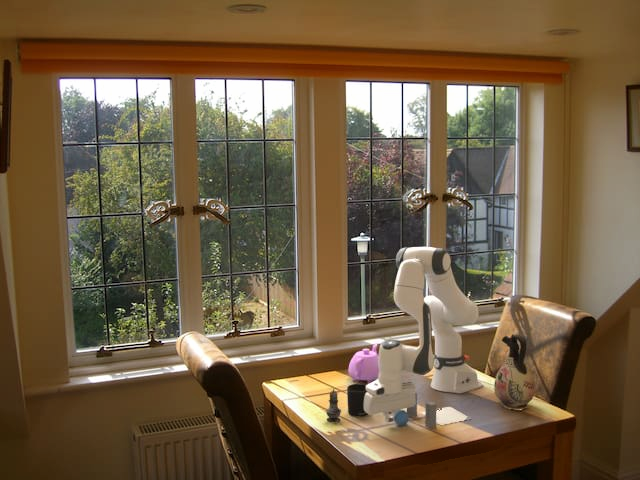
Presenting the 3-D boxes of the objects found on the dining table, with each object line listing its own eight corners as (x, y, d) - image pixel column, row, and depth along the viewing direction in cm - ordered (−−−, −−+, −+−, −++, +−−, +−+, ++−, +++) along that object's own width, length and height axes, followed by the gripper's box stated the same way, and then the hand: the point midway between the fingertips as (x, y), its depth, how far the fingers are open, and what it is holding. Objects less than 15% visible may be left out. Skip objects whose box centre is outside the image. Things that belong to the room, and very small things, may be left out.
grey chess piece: (325, 417, 263) (325, 386, 261) (340, 416, 263) (340, 386, 262) (326, 423, 257) (326, 391, 255) (342, 422, 257) (342, 391, 256)
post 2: (431, 425, 255) (432, 401, 253) (436, 427, 252) (436, 403, 251) (425, 426, 253) (425, 402, 252) (429, 429, 251) (429, 405, 250)
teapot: (361, 369, 320) (361, 340, 318) (392, 374, 313) (392, 344, 311) (340, 383, 300) (340, 352, 299) (373, 389, 293) (373, 357, 291)
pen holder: (343, 415, 264) (343, 390, 263) (352, 407, 273) (352, 382, 272) (366, 419, 261) (366, 393, 259) (374, 410, 269) (375, 385, 268)
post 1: (412, 413, 266) (413, 390, 265) (416, 415, 264) (417, 392, 262) (406, 414, 265) (406, 391, 264) (410, 416, 262) (410, 394, 261)
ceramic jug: (485, 402, 277) (487, 329, 273) (517, 397, 283) (519, 326, 279) (512, 417, 261) (514, 340, 257) (545, 412, 267) (548, 336, 263)
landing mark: (449, 407, 272) (449, 406, 272) (471, 419, 260) (471, 418, 260) (419, 412, 266) (419, 412, 266) (440, 425, 254) (440, 425, 254)
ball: (388, 418, 255) (398, 424, 258) (395, 424, 250) (406, 430, 253) (396, 405, 256) (406, 411, 258) (404, 411, 251) (414, 417, 253)
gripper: (410, 378, 258) (409, 414, 260) (361, 386, 250) (361, 423, 252) (419, 383, 253) (418, 419, 254) (369, 392, 244) (369, 429, 246)
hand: (389, 421), depth 253 cm, fingers closed
